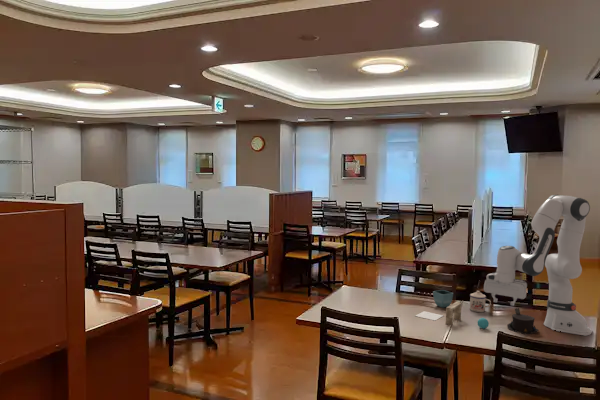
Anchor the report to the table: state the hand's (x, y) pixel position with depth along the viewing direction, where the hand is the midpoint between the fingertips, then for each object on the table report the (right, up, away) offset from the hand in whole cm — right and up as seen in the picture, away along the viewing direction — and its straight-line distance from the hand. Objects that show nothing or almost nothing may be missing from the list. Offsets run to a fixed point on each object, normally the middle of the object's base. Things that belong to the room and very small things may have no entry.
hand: (503, 303), depth 238 cm
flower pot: (-17, -12, +46) cm, 51 cm away
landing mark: (-31, -13, +26) cm, 43 cm away
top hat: (+13, -16, +7) cm, 22 cm away
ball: (-8, -12, +7) cm, 16 cm away
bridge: (-20, -14, +17) cm, 30 cm away
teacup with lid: (+3, -13, +39) cm, 42 cm away
